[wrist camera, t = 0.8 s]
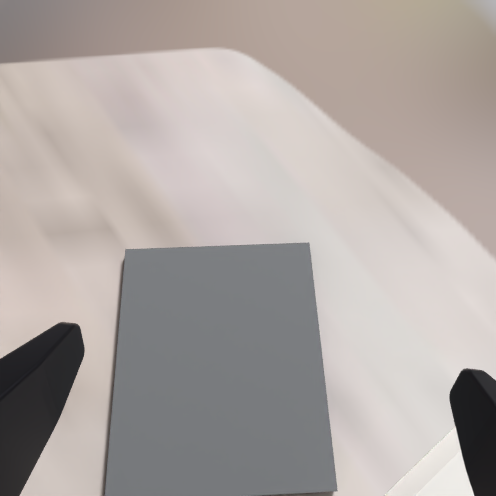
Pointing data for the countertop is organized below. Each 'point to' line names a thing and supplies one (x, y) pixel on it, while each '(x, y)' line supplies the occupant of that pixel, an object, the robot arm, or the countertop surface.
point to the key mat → (219, 375)
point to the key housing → (437, 472)
